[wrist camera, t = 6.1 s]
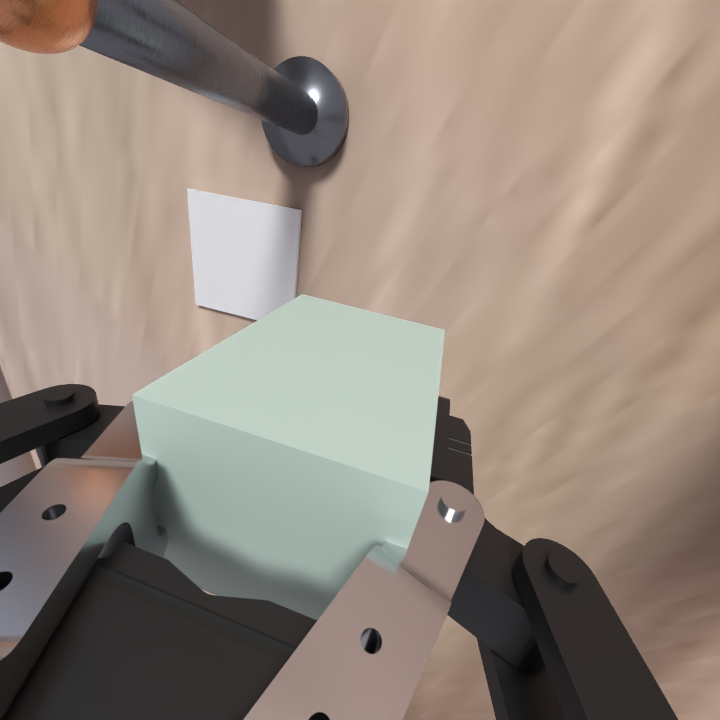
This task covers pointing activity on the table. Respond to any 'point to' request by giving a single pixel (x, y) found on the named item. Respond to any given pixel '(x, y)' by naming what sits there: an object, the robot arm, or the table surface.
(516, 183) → the table surface
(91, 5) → the metal post
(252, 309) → the pad
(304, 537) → the green block
